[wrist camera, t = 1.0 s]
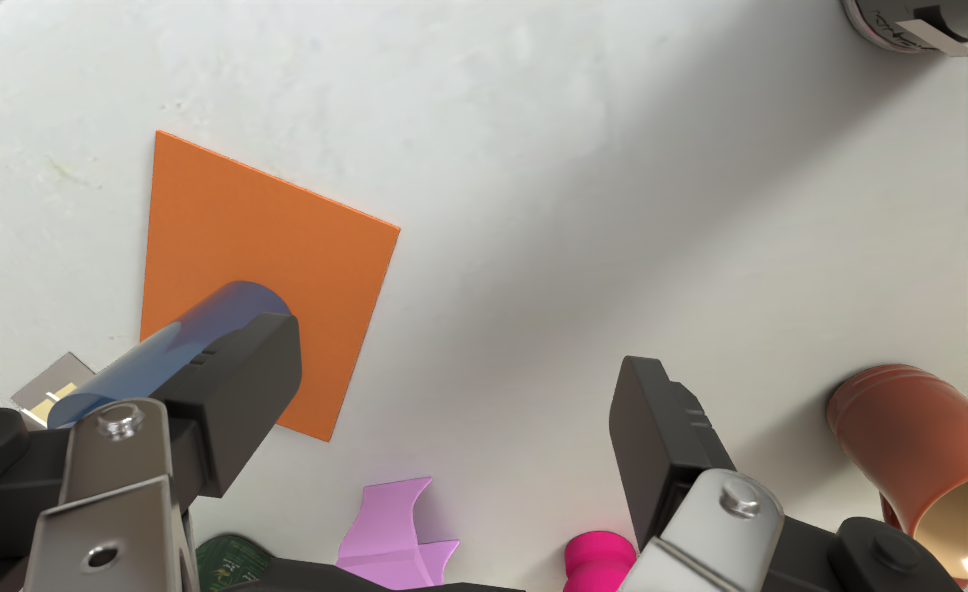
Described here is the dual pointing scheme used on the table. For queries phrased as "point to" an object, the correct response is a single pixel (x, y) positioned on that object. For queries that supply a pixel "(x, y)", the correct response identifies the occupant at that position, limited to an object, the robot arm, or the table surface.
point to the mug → (911, 454)
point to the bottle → (168, 350)
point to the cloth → (266, 262)
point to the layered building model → (50, 390)
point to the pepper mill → (598, 562)
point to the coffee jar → (228, 563)
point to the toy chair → (393, 540)
